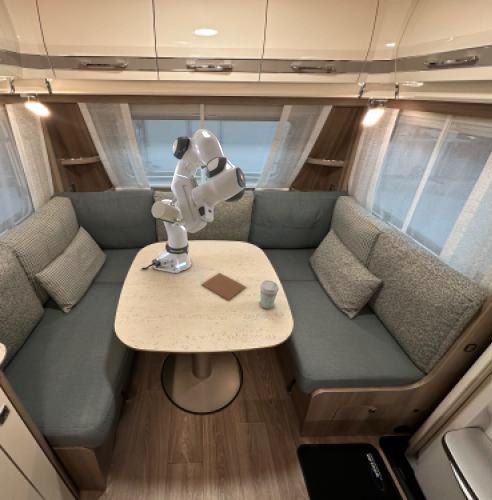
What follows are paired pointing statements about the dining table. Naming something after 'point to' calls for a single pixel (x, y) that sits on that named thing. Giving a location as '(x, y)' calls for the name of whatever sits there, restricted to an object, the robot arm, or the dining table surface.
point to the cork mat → (223, 286)
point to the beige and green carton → (166, 212)
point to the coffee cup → (268, 293)
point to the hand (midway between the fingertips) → (172, 214)
